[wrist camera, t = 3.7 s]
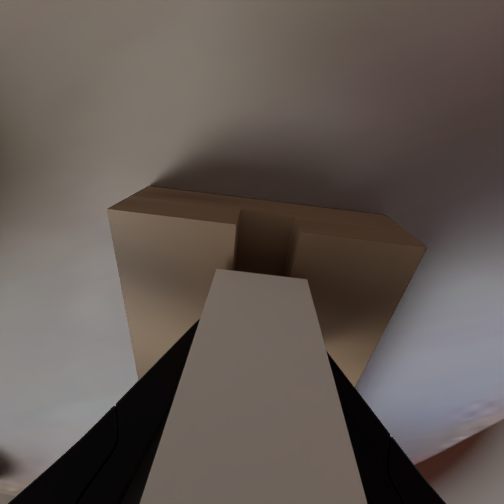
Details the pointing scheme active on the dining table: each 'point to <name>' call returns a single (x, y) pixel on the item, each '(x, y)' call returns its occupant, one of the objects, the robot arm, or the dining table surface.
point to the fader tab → (256, 405)
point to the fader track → (257, 265)
